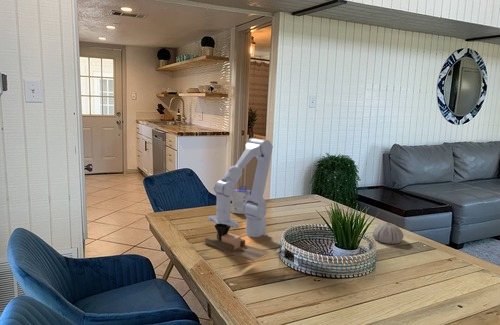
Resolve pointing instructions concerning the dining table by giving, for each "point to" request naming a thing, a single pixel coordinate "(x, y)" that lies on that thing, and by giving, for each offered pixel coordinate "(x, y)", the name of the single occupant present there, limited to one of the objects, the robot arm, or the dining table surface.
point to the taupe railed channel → (242, 251)
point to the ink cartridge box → (239, 199)
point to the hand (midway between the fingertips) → (222, 240)
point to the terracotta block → (232, 240)
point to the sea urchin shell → (388, 233)
